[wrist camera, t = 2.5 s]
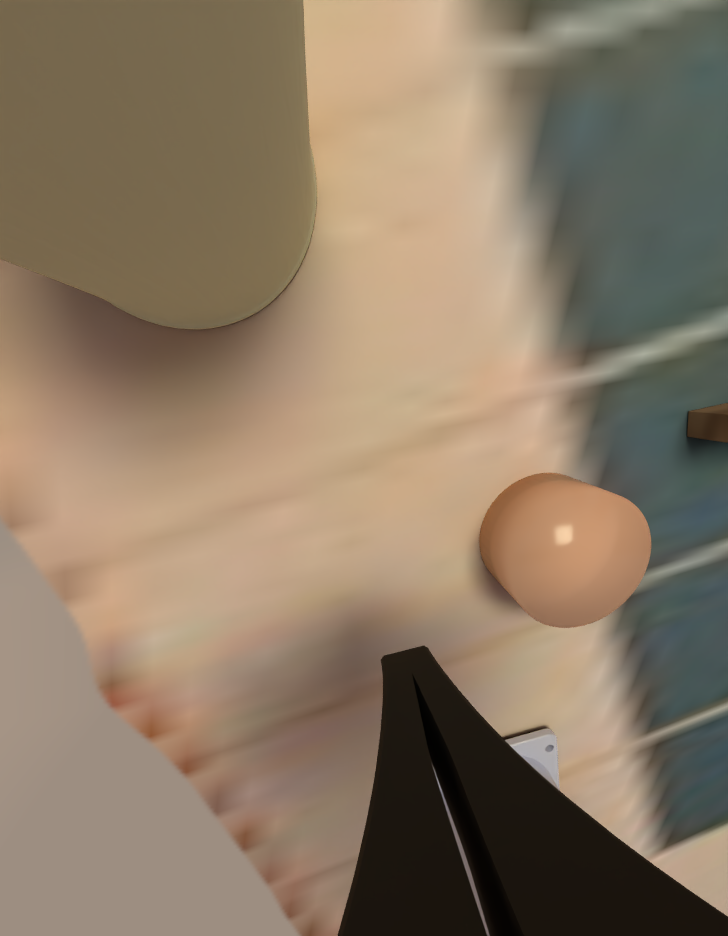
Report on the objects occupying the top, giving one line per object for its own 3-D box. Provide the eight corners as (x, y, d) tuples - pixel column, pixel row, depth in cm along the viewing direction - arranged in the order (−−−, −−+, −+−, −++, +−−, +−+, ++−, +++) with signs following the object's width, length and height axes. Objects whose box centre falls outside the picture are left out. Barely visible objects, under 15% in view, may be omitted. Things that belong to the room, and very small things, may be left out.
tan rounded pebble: (595, 571, 18) (649, 608, 15) (484, 599, 17) (517, 642, 14) (593, 459, 16) (653, 476, 13) (471, 487, 16) (506, 511, 13)
